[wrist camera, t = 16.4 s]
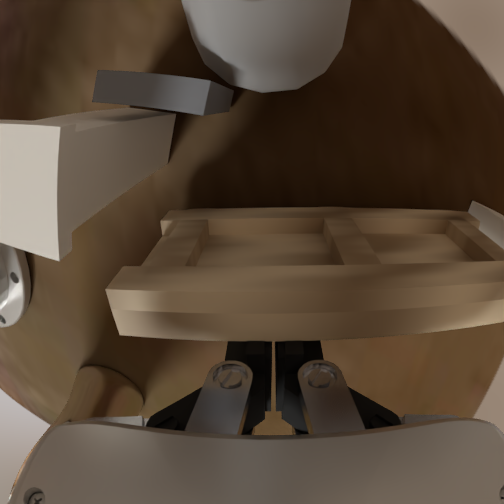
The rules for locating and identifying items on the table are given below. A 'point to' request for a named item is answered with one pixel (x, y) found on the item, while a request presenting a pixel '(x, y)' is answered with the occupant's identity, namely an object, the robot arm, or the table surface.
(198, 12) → the salt shaker
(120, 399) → the beer glass
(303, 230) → the gate
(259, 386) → the robot arm
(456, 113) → the table surface
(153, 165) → the gate posts
